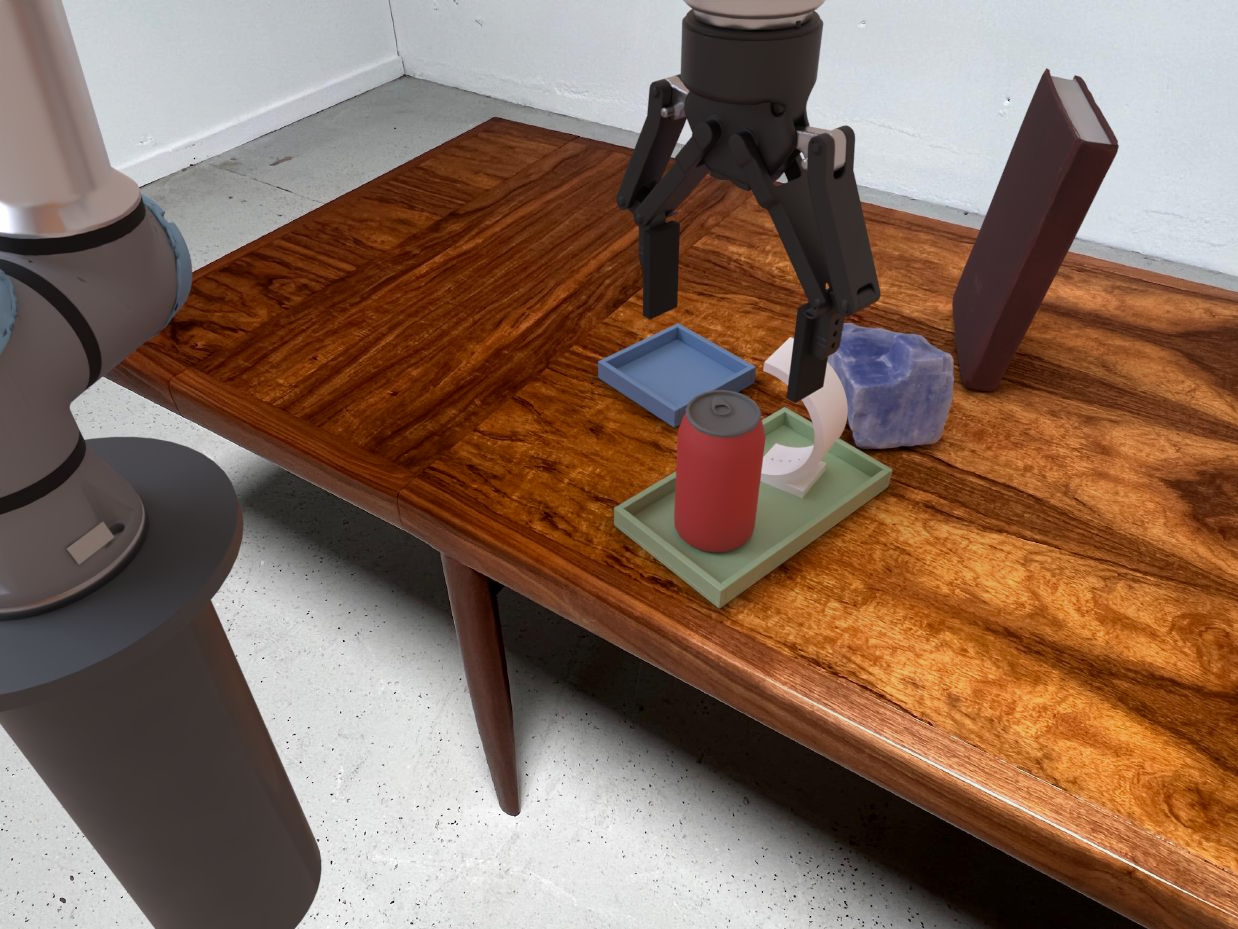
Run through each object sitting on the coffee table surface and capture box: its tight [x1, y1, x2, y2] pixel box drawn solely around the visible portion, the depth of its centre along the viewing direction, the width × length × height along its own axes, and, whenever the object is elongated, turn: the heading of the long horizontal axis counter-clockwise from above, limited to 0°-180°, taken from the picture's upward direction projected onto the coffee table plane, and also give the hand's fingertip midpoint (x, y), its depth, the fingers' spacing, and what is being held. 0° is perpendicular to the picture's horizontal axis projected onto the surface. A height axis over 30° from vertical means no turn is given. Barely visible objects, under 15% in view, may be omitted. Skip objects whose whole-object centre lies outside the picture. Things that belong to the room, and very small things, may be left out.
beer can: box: [674, 390, 766, 552], centre depth 71 cm, size 7×7×12 cm
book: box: [951, 68, 1120, 393], centre depth 87 cm, size 17×26×4 cm
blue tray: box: [597, 322, 757, 428], centre depth 91 cm, size 11×11×2 cm
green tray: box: [613, 406, 893, 610], centre depth 77 cm, size 21×12×2 cm, turn 131°
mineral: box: [827, 322, 955, 450], centre depth 86 cm, size 14×10×10 cm
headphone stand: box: [760, 336, 848, 499], centre depth 76 cm, size 5×6×12 cm
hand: (727, 349), depth 62 cm, fingers open, 13 cm apart
